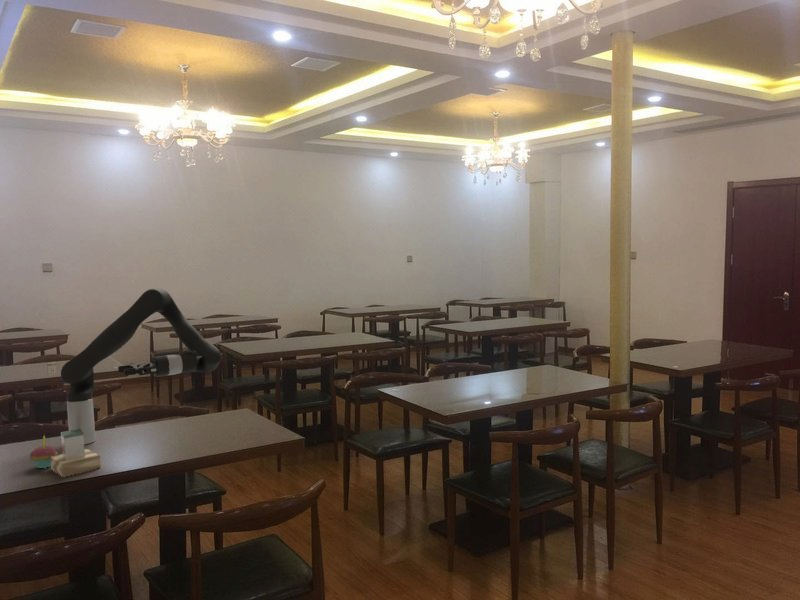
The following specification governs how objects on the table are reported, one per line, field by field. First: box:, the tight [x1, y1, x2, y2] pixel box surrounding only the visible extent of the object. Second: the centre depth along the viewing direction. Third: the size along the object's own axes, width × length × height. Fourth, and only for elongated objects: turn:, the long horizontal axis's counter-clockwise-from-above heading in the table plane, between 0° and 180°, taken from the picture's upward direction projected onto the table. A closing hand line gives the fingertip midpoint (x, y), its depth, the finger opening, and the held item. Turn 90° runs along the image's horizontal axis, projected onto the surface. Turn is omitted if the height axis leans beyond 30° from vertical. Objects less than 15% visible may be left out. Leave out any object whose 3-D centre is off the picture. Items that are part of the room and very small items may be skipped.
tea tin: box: [60, 429, 86, 460], centre depth 223 cm, size 6×6×8 cm
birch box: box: [50, 448, 101, 478], centre depth 223 cm, size 12×12×5 cm
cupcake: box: [29, 434, 59, 469], centre depth 226 cm, size 9×8×12 cm
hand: (121, 371), depth 231 cm, fingers open, 8 cm apart
